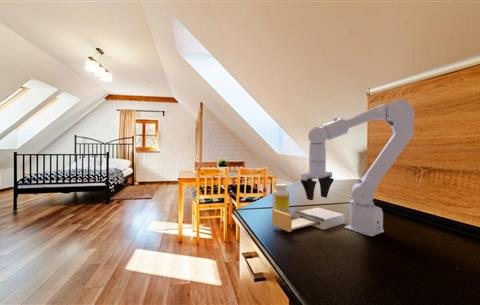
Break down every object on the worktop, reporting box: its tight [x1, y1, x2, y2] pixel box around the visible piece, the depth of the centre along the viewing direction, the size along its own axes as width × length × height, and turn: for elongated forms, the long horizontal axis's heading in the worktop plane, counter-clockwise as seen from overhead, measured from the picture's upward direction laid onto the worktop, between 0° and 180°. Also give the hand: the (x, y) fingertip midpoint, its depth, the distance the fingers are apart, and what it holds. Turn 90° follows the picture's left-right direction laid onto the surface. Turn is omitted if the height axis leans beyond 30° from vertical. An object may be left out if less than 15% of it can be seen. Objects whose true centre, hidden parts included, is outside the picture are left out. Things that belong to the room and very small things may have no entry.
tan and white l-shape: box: [271, 209, 320, 233], centre depth 82 cm, size 17×8×5 cm, turn 122°
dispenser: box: [295, 207, 346, 230], centre depth 88 cm, size 12×12×4 cm
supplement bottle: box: [272, 183, 290, 214], centre depth 96 cm, size 7×7×13 cm
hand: (317, 198), depth 85 cm, fingers open, 7 cm apart
